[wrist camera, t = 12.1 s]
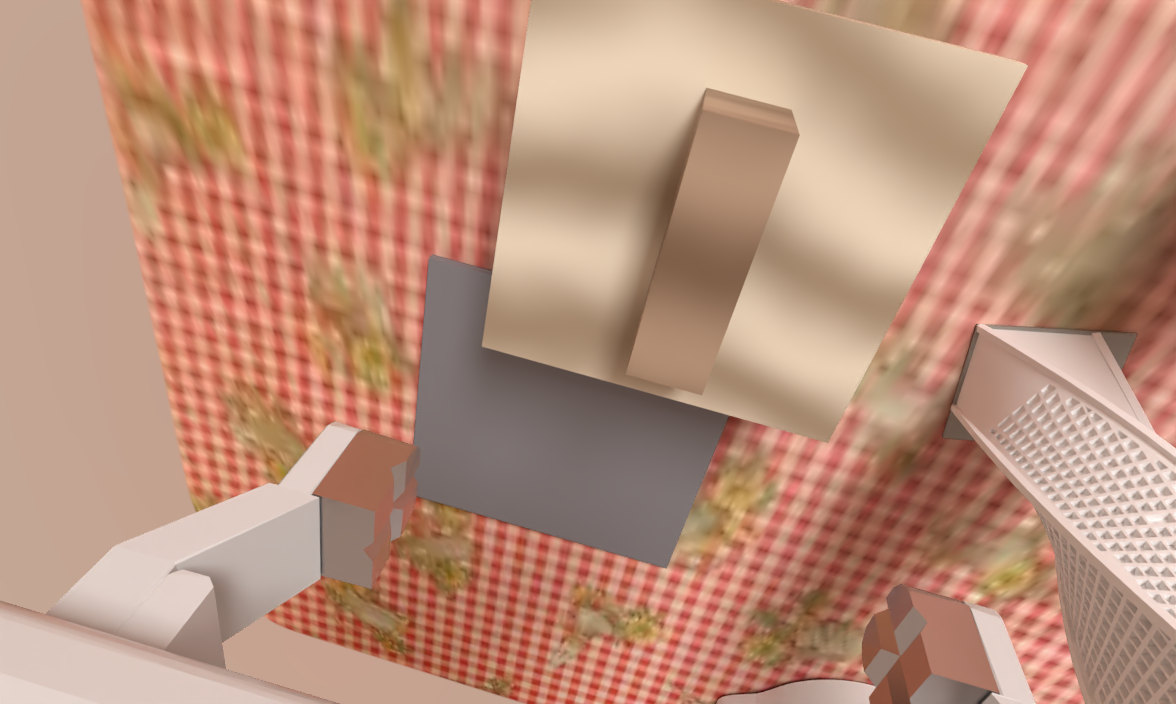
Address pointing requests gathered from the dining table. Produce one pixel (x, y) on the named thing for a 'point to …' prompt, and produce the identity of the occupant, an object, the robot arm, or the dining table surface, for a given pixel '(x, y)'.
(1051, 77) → the dining table surface
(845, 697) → the robot arm
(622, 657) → the dining table surface
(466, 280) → the rubber mat
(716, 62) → the cover board
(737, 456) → the dining table surface
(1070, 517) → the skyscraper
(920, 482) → the dining table surface
